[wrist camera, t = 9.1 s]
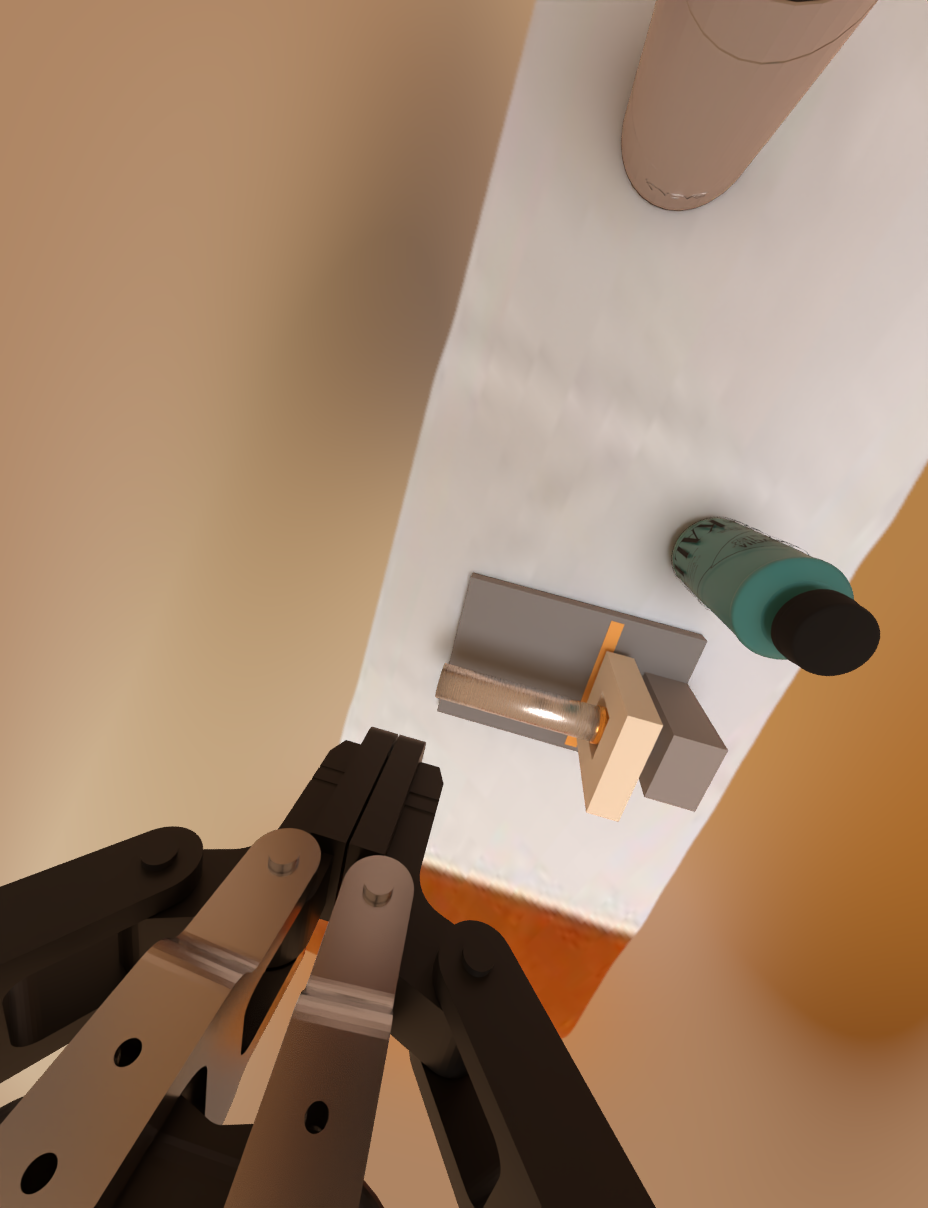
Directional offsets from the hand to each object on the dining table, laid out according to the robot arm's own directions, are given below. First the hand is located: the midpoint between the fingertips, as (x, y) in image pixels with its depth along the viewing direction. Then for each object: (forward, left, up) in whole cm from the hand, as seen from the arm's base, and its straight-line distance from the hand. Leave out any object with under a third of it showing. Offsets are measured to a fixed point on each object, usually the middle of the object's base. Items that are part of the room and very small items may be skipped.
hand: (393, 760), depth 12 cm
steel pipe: (+12, +8, -26) cm, 30 cm away
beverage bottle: (-3, +18, -33) cm, 38 cm away
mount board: (+12, +9, -33) cm, 36 cm away
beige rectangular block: (+12, +14, -30) cm, 35 cm away
